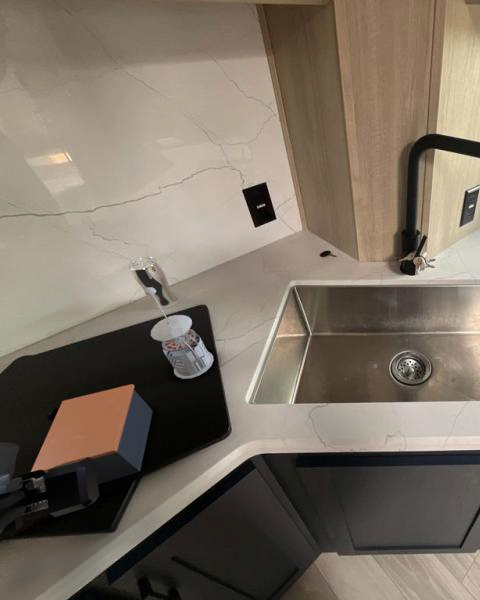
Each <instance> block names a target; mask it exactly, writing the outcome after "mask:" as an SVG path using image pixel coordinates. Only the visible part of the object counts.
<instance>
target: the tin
mask: <svg viewBox="0 0 480 600" xmlns="http://www.w3.org/2000/svg"><path fill="white" fill-rule="evenodd" d="M153 412H154V411H153V410H152V408H151V407H150V406H149V405H148V404H147V403H146V402H145V400H144V399H143V398H142V397H141V396H140V395H139V393H137V391H136V390H135V389H134V390H133V394H132V398H131V401H130V405H129V409H128V412H127V416H126V420H125V423H124V427H123V431H122V434H121V438H120V442H119V445H118V449H117V452H115V453H111V454H108V455H104V456H101V457H98V458H94V463H95V470H96V477H97V483H98V486H99V485H102V484H105V483H108V482H111V481H115V480H117V479H118V480H119V479H121V478H124V477H128V476H130V475H134V474H137V473H140V472H141V470H142V466H143V460H144V456H145V450H146V445H147V441H148V435H149V431H150V426H151V421H152V417H153ZM136 469H137V470H136ZM132 470H133V471H132Z"/></svg>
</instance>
